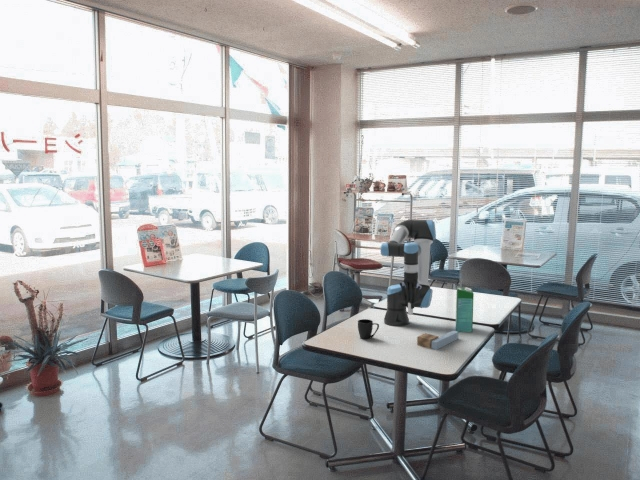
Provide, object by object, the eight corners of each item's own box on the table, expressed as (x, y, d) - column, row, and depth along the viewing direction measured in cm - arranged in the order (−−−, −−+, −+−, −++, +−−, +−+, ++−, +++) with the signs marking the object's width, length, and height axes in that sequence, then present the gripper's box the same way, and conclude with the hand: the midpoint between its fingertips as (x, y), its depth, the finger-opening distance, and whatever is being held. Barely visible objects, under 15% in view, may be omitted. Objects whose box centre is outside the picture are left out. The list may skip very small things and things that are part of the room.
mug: (375, 341, 294) (375, 324, 293) (355, 338, 299) (355, 322, 298) (381, 337, 301) (381, 321, 300) (361, 334, 307) (361, 318, 305)
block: (417, 345, 288) (417, 336, 287) (425, 342, 293) (425, 333, 293) (430, 349, 282) (430, 339, 282) (438, 345, 288) (438, 336, 287)
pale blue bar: (431, 348, 282) (431, 341, 282) (453, 337, 300) (453, 330, 300) (436, 349, 280) (436, 342, 280) (458, 338, 298) (458, 331, 298)
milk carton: (472, 332, 310) (473, 289, 307) (456, 331, 312) (457, 288, 308) (471, 327, 319) (472, 286, 315) (455, 326, 320) (456, 285, 317)
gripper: (396, 271, 292) (396, 313, 295) (417, 274, 283) (417, 317, 287) (404, 268, 297) (403, 310, 301) (425, 272, 289) (424, 314, 293)
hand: (410, 314), depth 294 cm, fingers closed
